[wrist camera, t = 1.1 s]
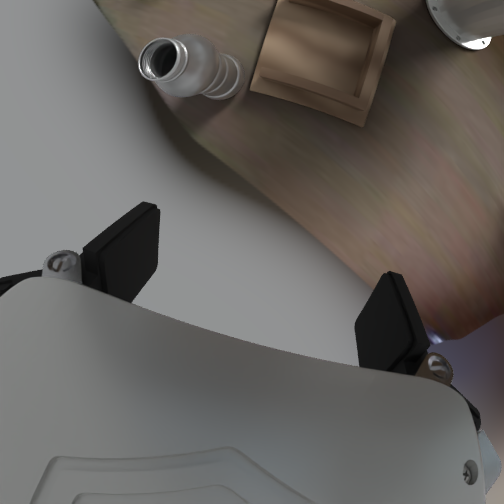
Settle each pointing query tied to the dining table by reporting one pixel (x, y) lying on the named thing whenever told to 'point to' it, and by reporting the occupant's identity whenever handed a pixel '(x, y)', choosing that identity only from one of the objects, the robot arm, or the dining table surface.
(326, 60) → the brown tray
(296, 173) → the dining table surface
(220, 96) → the silver bottle
